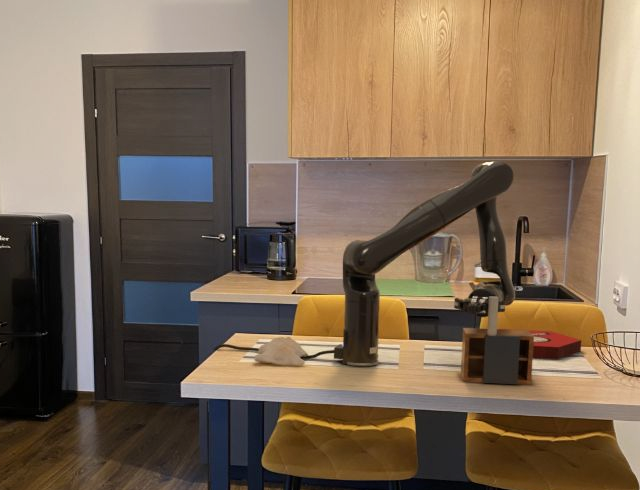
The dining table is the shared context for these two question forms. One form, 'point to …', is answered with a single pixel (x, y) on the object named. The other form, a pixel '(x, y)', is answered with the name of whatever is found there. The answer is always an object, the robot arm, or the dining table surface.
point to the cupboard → (475, 354)
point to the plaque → (553, 345)
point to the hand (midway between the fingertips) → (473, 309)
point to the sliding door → (499, 351)
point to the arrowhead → (281, 352)
